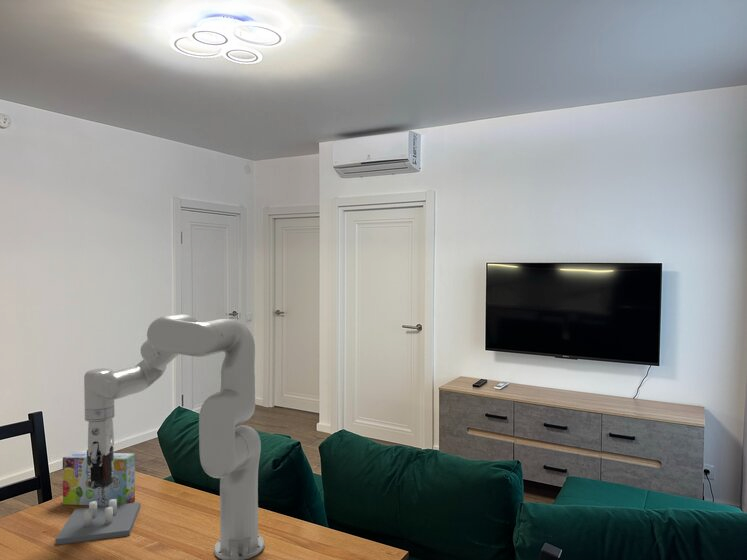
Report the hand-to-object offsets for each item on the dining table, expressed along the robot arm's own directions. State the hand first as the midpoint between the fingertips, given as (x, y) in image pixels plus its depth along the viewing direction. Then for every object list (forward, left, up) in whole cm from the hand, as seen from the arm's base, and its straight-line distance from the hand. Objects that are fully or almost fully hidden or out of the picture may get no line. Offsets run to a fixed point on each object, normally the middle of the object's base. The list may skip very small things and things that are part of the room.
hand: (100, 474), depth 149 cm
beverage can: (0, 0, -3) cm, 3 cm away
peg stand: (0, 0, -14) cm, 14 cm away
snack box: (+16, +4, -15) cm, 22 cm away
